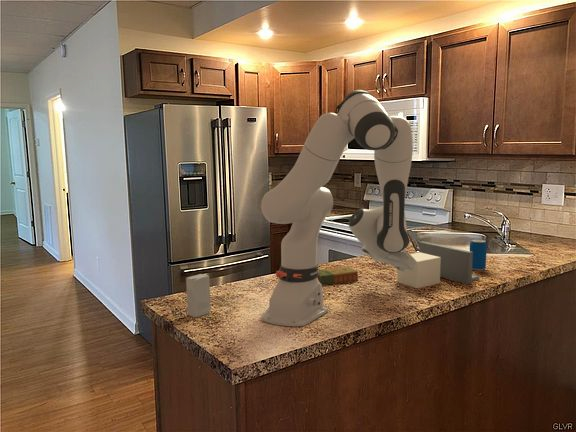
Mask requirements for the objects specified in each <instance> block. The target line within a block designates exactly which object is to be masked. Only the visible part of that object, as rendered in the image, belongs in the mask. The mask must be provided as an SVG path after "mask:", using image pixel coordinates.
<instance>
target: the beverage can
mask: <svg viewBox="0 0 576 432" xmlns="http://www.w3.org/2000/svg"><path fill="white" fill-rule="evenodd" d="M487 248H488V243H487V240H485V239H479V238H478V239H476V238H474V239H471V240H470V242H469V251H471V252H473V260H472V271H484V270H485V269H486V268H487Z"/></svg>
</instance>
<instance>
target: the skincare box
mask: <svg viewBox="0 0 576 432" xmlns="http://www.w3.org/2000/svg"><path fill="white" fill-rule="evenodd" d="M185 280H186V281H185V282H186V283H185V284H186V286H185V287H186V303H187V308H186V309H187V315H188V316H189V317H193V318H199V317H202V316H204V315H207V314H209V313H211V311H212V309H211V285H210V276H209V275H208V274H203V273H199V274H196V275H191V276H188V277H185Z"/></svg>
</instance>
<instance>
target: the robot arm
mask: <svg viewBox="0 0 576 432" xmlns="http://www.w3.org/2000/svg"><path fill="white" fill-rule="evenodd" d="M354 139H355V141H356V143H357V144H358V145H359V146H361V147H362V149H365V150H369V151H373V152H374V156H373V159H374V167H375V172H376V176H377V180H378V183H379V187H380V191H381V196H382V205H381V206H378V207H375V208H370V209H367V208H359V209H357V210H355V211H354V212H353V213H352V215H350V218H349V221H348V227H349V230H350V231H351V232H352V234H353V235H354V237H355V238H356V239H357V240H358V241H359V242H360V243H361V244H362V246H361V248H360V249H361V251H362V252H363V253H365V254H366V255H368V257H370V258H371V259H372V260H374V261H376V262H379V263H383V264H387V265H390V266H392V267H394V268H395V269H396V271H397V270H399V271H403V272H404V271H405V269H408V270H412V269H413V268H414V267H415V265H416V263H417V262H416V260H415V259H414V258H413V257H412V256H411V255H410V254H411V253H409V252H408V251H407V250H405V249H406V248H408V247H409V244H410V237H409V233H408V232H409V231H408V227H407V219H406V213H405V205H406V204H405V202H406V201H405V200H406V193H407V187H408V182H409V178H410V177H409V176H410V172H411V168H412V160H413V150H414V149H413V146H414V145H413V133H412V127H411V124H410V121H408V120H407V119H406V118H404V117H402V116H399V115H391V116H389V114H388V113H387V112H386V110H385V108H384V106H383V105H382V104H381V102H379V100H378V99H376V98H375V96H374V95H373V94H372V93H370V92H368V91H367V90H362V89H356V90H352V91H351V92H349V93H347V95H346V96H345V97H344V98H343V99H342V101H341V102H340V103H339V104H338V105H337V106H336V108H335V110H334V112H326V113H323V114H321V115H320V117H318V119H317V120H316V121H315V123H314V125H313V126H312V128H311V130H310V131H309V134H308V135H307V136H306V140H305V142H304V144H303V146H302V149H301V150H300V153H299V155H298V158H297V160H296V162H295V164H294V165H293V167H292V168H291V170H290V171H289V172H288V173H287V174H286V176H285V177H284V178H283V179H282V180H281V181H280V182H279V183H278V184H277V185H276V186H274V187H273V188H272V189H270V190H269V191H267V192H266V193H265V194H264V195H263V197H262V199H261V203H260V208H261V212H262V215H263V217H264V218H265V220H266V221H268V222H269V223H270V224H271V223H272V224H280V225H286V224H288V225H289V224H291V227H290V229H289V231H288V232H287V234H286V235H285V236H284V237H283V238H282V240H281V242H280V245H281V246H280V248H281V249H280V251H281V252H280V254H281V255H280V256H281V257H280V258H281V259H280V260H281V261H280V263H281V264H280V267H279V270H276V272H275V276H276V278H278V281H277V283H276V285H275V287H274V289H273V291H272V294H271V295H270V297H269V305H268V308H267V309H266V310H265V311H264V313H263V314H262V316H261V318H260V319H261V321H263V322H265V323H268V324H271V325H277V326H283V327H284V326H285V327H304V326H306V325H308V324H309V323H311V322H314V320H316V319H318V318H320V317H321V316H324V315H326V313H328V312H329V309H328V307H327V306H324V291H323V285H321V283H320V282H319V280H318V278H317V277H318V270H319V266H318V264H317V263H318V262H317V261H318V260H317V255H318V254H317V253H318V251H317V250H318V240H319V239H318V238H319V235H320V231H321V228H322V225H323V224H324V221H325V219H326V217H327V216H328V215H329V214H330V213H331V212H332V211H333V208H334V197H333V195H332V193H331V191H330V189H329V188H327V187H325V186H326V185H327V184H328V183H329V181H330V180H331V179H332V176H333V174H334V172H335V170H336V168H337V167H338V163H339V161H340V159H341V158H342V156H343V153H344V150H345V148H346V147H347V146H348V144H349V143H350V142H351V141H353V140H354Z"/></svg>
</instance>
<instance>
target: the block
mask: <svg viewBox="0 0 576 432" xmlns="http://www.w3.org/2000/svg"><path fill="white" fill-rule="evenodd" d="M409 254H410V255H411V256H412V257H413V258H414V259H415V260H416V262H417V263H416V265H415V267H414V268H413V269H412V270H408V269H405V271H404V272H403V271H399V270H397V269H396V273H397V275H396V282H397V283H398V284H402V285H406V286H408V287H411V288H413V289H414V288H415V289H420V288H425V287H428V286H433V285H439V284H441V277H440V264H441V257H437V256H433V255H429V254H425V253H421V252H420V253H419V252H415V253H409Z"/></svg>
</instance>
